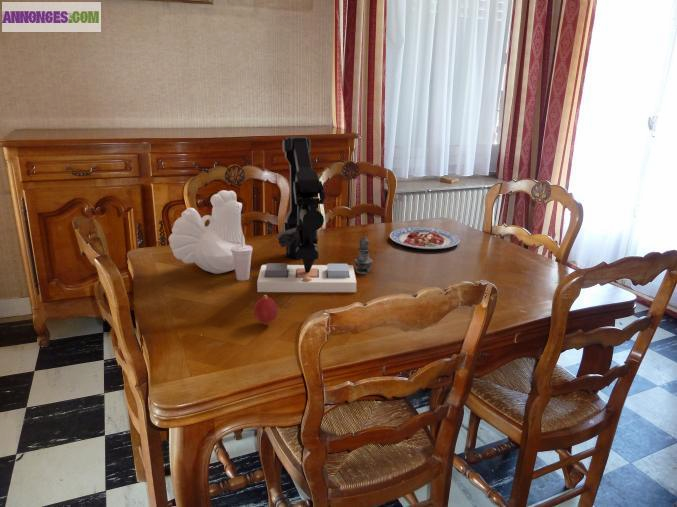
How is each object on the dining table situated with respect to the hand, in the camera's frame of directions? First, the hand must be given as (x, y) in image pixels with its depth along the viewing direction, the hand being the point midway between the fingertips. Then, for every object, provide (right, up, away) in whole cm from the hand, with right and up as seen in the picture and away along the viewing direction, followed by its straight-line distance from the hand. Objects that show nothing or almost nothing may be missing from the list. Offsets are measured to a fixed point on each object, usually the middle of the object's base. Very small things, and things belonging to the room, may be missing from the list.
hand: (307, 272), depth 154 cm
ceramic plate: (+41, +9, +42) cm, 60 cm away
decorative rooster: (-31, 0, +9) cm, 32 cm away
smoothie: (-20, -2, +3) cm, 20 cm away
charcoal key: (-9, -1, 0) cm, 9 cm away
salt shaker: (+17, 0, +11) cm, 20 cm away
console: (0, -3, +1) cm, 3 cm away
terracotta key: (0, -3, +1) cm, 3 cm away
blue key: (+9, -1, +1) cm, 9 cm away
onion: (-9, -12, -25) cm, 29 cm away
